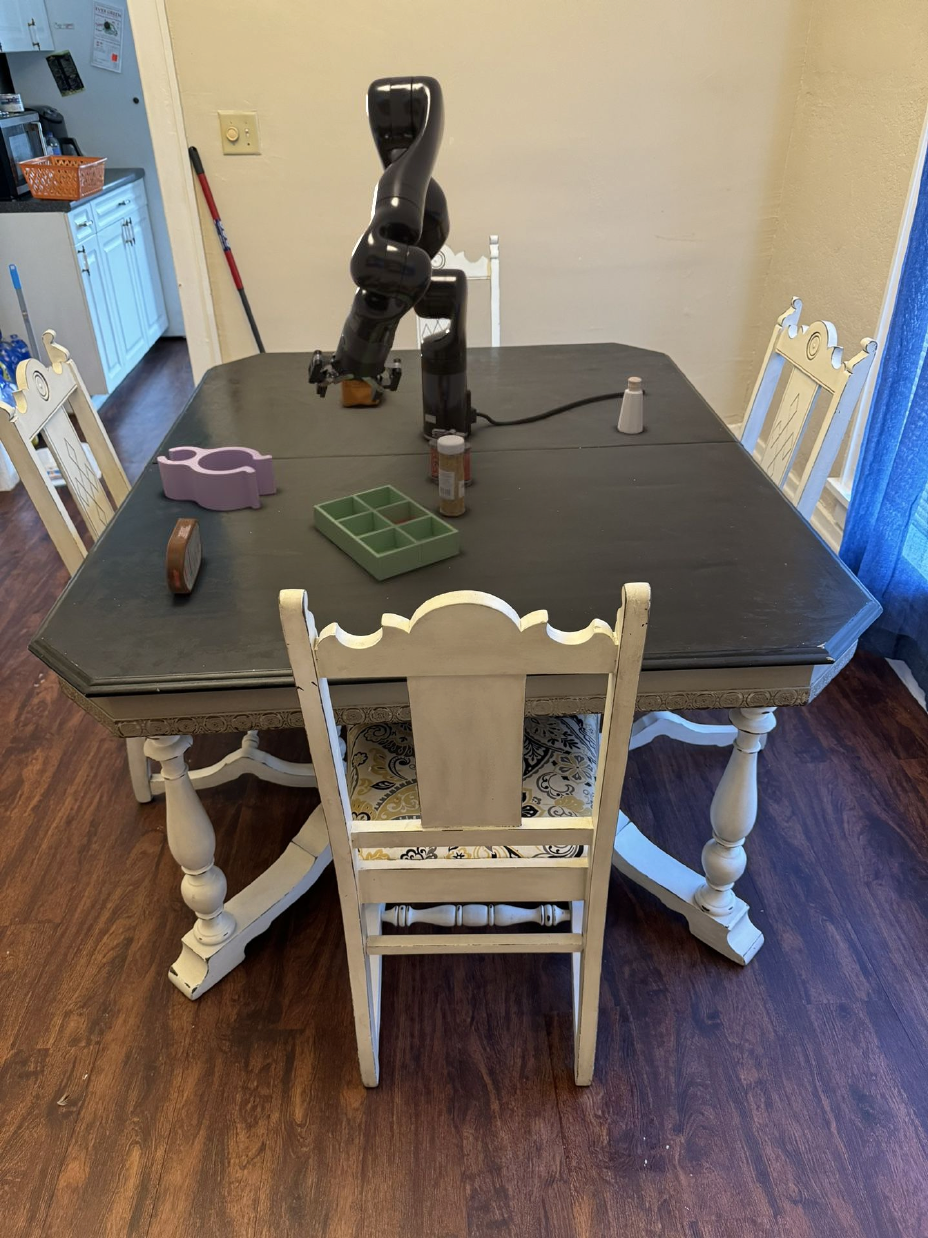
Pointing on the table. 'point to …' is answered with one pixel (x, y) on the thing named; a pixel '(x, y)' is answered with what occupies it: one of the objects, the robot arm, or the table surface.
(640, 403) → the pepper shaker
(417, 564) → the organizer
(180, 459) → the clip
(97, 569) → the table surface
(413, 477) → the table surface
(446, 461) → the sprinkles bottle
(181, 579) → the tin
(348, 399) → the coffee package
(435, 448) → the lighter
